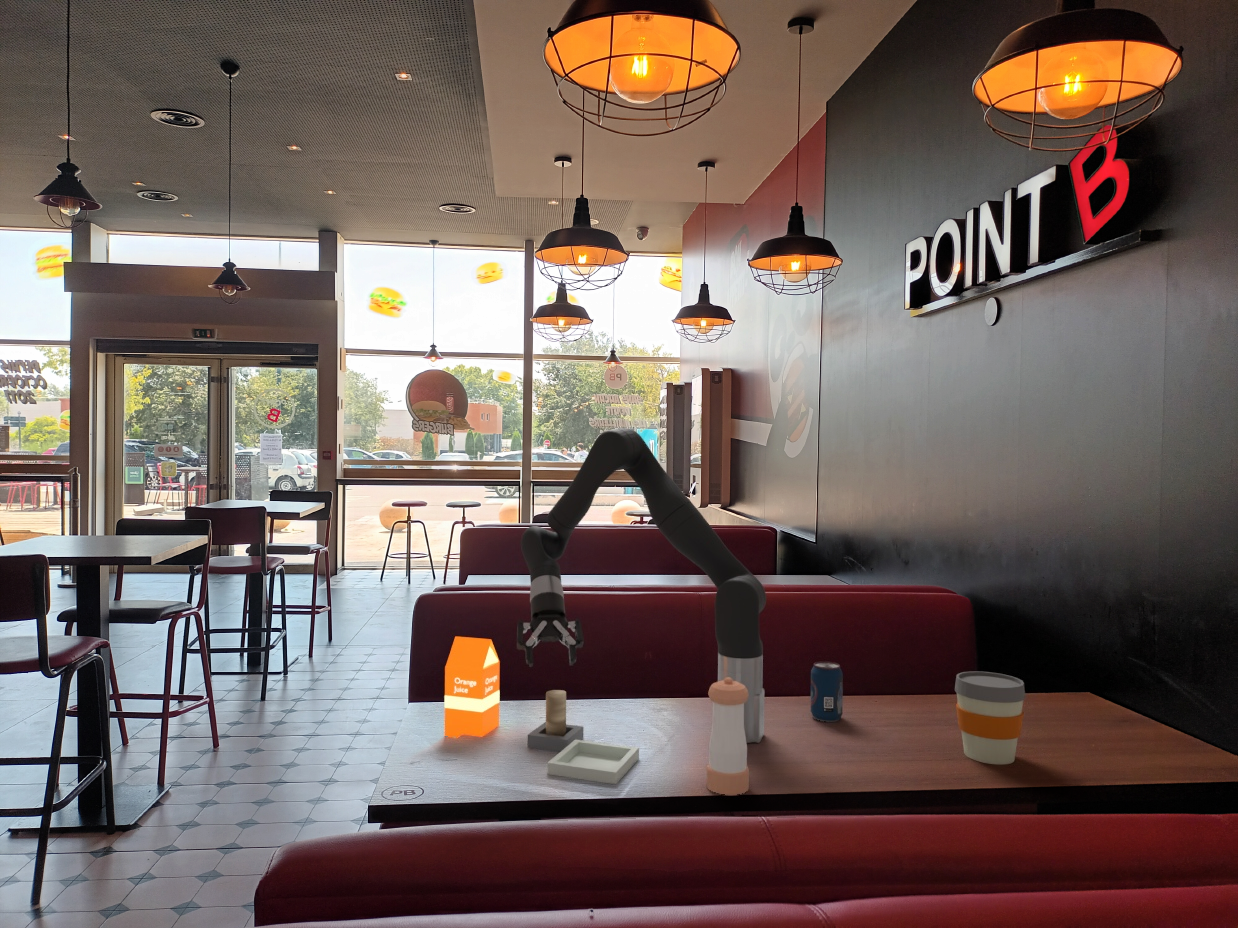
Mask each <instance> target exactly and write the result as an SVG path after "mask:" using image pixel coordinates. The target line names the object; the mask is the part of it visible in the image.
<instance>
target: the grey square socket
mask: <svg viewBox="0 0 1238 928" xmlns="http://www.w3.org/2000/svg"><path fill="white" fill-rule="evenodd" d="M526 739H527V749H535V750H540V751H547V752H555V753H560V752H561V751H562V750H563V749H564V748H566V747H567V746H568V745H569V744H570V743H572V742H573V741H574V740H575V739H576V740H584V726H582V725H581V726H580V725H575V724H567V723H566V735H564V736H555V735H547V734H546V721H544V722H543V723H542V724H541V725H539V726H538V727H536V728H535V729H534V730H532V731H531V732H529V733H528V734H527V738H526Z"/></svg>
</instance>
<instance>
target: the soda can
mask: <svg viewBox="0 0 1238 928" xmlns="http://www.w3.org/2000/svg"><path fill="white" fill-rule="evenodd" d="M843 678H844V676H843V672H842V669H841V665H840V664H839V663H837V662H832V661H816V662H814V663H813V667H812V668H811V669H810V713H811V715H812V717H813V718H814V719H815V720H816V719H817V721H819V720H820V722H824V721H826V723H834V722H839V721H840V719H841V718H842V715H843V710H844V709H843V706H844V705H843V702H844V700H843V699H844V698H843V696H844V695H843V693H844V692H843V691H844V687H843V685H844V684H843V681H844V680H843Z"/></svg>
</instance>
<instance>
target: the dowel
mask: <svg viewBox="0 0 1238 928" xmlns="http://www.w3.org/2000/svg"><path fill="white" fill-rule="evenodd" d="M545 722H546V734H547V735H555V736H564V735H566V724H567V691H565V690H563V689H562V690H561V689H552V690H548V691H546V693H545Z"/></svg>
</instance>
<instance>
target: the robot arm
mask: <svg viewBox="0 0 1238 928" xmlns="http://www.w3.org/2000/svg"><path fill="white" fill-rule="evenodd" d="M622 470H623V471H625V472H626V473H627V474H628V475H629V477H630V478H631V479H632V480H633V481H634V482H635V483H636V484H637V486H638V487H639V489H640V490H641V492H642V494H643V497H644V499H645V503H646V506H647V509H648V511H649V515H650V517H651V519H652V521H653V523H654V524H655V526H656V527H657V529H658V531H660V532H661V534H662V535H663V536H664V537H665V539H666V540H667V541H668V542H669V544H670V545H671V546H672V547H674V549H676V550H677V551H678V552H679V553H681V554H682V555H683V556H684V557H685V558H687V559H688V560H690V561H691V562H692V563H693V564H694V565H696V566H697V567H699V568H700V569H701V570H702V571H703V572H704V573H705V574H706V576H708V577H709V579H710V580H711V582H712V583H713V584H714V586H715V587H716V589H717V590H716V594H715V598H714V599H715V600H714V622H715V623H714V626H715V627H714V629H715V632H714V633H715V640H716V642H717V664H718V665H717V682H718V681H722V680H724V679H725V678H727V677H730V678H732V679H733V681H736V682H739V683H741V684H743V685H744V686H745V687H746V688H747V690H748V693H749V695H748V699H747V701H746V702H745V703H744V730H745V737H746V744H748V743H749V744H750V743H756V744H757V743H759V744H760V742H761V740H762V738H763V736H764V734H765V688H763V675H764V674H763V670H764V669H763V667H764V666H763V664H764V663H763V659H764V658H763V657H764V656H763V653H764V652H763V651H764V647H763V646H764V644H763V641H762V639H761V635H760V613H761V612H762V611H763V610H764V608H765V606H766V604H767V594H766V590H765V587H764V586H763V584H762V583H761V581H760V580H759V579H758V578H757V577H756V575H754V574H753V573H752V572H751V571H750V570H749V569H748V568H747V567H746V566H744V564H743V563H742V562H741V561H740V560H739V559H738V558H737V557H736V556H735V555H734V554H733V553H732V552H731V551H730V550H729V549H728V547H727V546H726V545H725V544H724V541H722V539H721V538H720V536H719V535H718V533H716V531H715V530H714V528H713V527H712V526H711V525H710V524H709V522H708V521H707V520H706V518H705V517H704V516H703V515H702V513H701V512H700V511H699V510H698V508H697V507H696V506H695V504H694V503H693V502H692V501H691V500H690V498H688V496H687V495H686V494H685V493H684V492H683V491H682V490H681V488H680V487H679V486H678V485H677V484H676V482H675V481H674V479H672V477H671V476H670V475H669V473H667V472H666V471H665V469H664V468H663V466H662V465H661V464H660V462H659V461H658V460H657V458H656V457H655V455H654V454H653V452H652V450H651V449H650V448H649V446H648V444H647V443H646V442H645V440H644V439H643V438H642V436H641V435H640V434H639V433H638V432H637V431H636V430H633V429H631V428H628V427H620V428H612V429H607V430H605V431H603V432H602V433H600V434H599V435H598V436H597V437H596V439H595V441H594V442H593V444H592V446H591V448H590V450H589V451H588V453H587V456H586V458H585V460H584V461H583V463H582V465H581V466H580V469H578V472H577V474H576V475H575V477H574V479H573V480H572V482H571V483H570V484H569V486H568V487H567V489H566V490H565V492H564V493H562V496H561V497H560V498H559V499H558V500H557V501H556V503H555V504H554V506H553V507H552V508H551V510H550V511H548V514H547V516H546V522H547V525H548V527H549V528H550V529H551V530H549V529H545V528H543V527H541V526H537V525H532V526H531V525H530V526H529V527H527V528H526V529H525V530H524V531H523V533H522V536H521V541H520V546H521V547H520V548H521V552H522V555H523V558H524V560H525V563H526V566H527V568H528V570H529V571H528V572H529V576H530V577H529V579H530V589H529V590H530V591H529V603H530V612H531V613H530V617H531V619H530V620H531V621H530V622H524V621H523V620H522V619H520V620H518V621H517V627H516V628H517V631H516V635H517V636H516V649H517V650H518V651H521V650H523V651H525V662H526V665H529V667H530V668H533V667H534V647H536V646H537V645H538V644H539V643H540V641H542V643H548V642H555V643H556V642H557V643H558V641H559V642H560V643H561V644H562V645H563V646H566V648H567V649H568V659H569V660H568V662H569V666H574V664H575V663H576V662H577V658H578V657H577V655H578V654H577V649H582V648H583V645H584V641H585V639H584V632H583V627H582V621H581V619H580V618H576V619H575V620H572V621H568V619H567V618H566V617H567V616H566V607H565V606H566V605H565V598H564V597H565V595H564V588H563V585H562V575H561V568H560V564H559V562H558V560H559V559H561V558H562V557H563V555H564V552H565V551H566V548H567V545H568V543H569V540H570V538H571V536H572V534H573V531H574V530H575V529H576V527H577V526H578V525H579V524H580V522H581V521H582V520H583V518H584V517H585V516H586V515H587V513H588V512H589V511H590V508H591V506H592V504H593V501H594V498H595V496H596V494H597V492H598V490H599V489H600V487H601V486H602V485H603V483H604V482H605V481H606V480H608V478H609V477H611V476H612V475H613V474H614V473H615V472H617V471H622ZM552 530H553V531H552ZM569 629H570V630H571V631H572V632H573V633H574V635H575V638H573V637H572V636H571V635H570V633H569V632H568V630H569ZM528 630H530V631H531V632H532V634H531V635H530V637H529V639H528V640H527V641H525V640H524V634H526V633H527V631H528Z"/></svg>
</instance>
